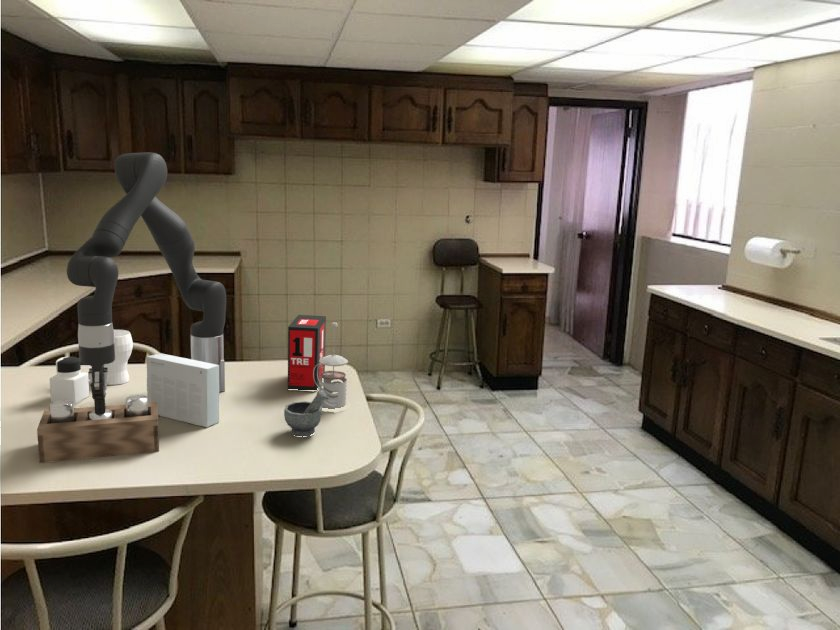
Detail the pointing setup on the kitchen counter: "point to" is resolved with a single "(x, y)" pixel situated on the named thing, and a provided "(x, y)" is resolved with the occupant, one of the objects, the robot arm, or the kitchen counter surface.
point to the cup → (120, 358)
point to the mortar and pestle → (304, 415)
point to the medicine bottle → (69, 381)
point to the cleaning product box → (305, 351)
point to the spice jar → (101, 415)
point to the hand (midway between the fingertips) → (100, 412)
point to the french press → (328, 387)
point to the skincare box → (184, 389)
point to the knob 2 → (137, 405)
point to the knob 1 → (62, 411)
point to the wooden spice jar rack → (97, 434)
